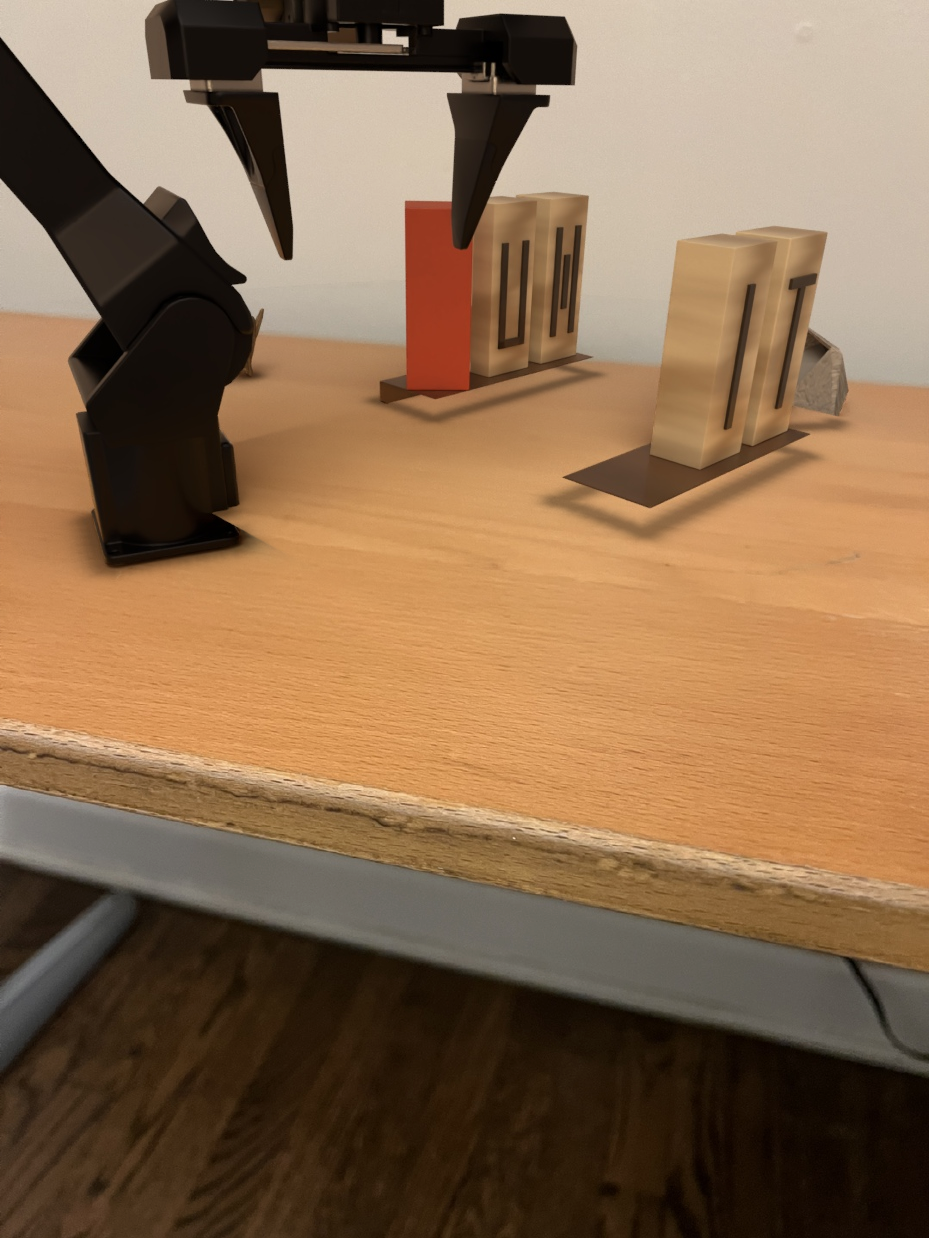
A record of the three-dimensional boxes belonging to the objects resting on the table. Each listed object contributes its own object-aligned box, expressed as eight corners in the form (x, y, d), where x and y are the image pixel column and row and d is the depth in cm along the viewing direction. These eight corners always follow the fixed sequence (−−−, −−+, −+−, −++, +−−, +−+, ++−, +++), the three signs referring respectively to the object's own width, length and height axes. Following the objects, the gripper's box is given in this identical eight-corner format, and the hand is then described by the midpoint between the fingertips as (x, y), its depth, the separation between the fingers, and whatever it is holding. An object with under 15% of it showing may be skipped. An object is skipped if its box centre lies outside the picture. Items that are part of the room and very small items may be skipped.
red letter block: (470, 390, 66) (475, 209, 60) (406, 390, 65) (404, 207, 59) (466, 373, 70) (470, 201, 64) (406, 373, 69) (404, 200, 63)
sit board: (646, 534, 48) (682, 264, 42) (559, 501, 52) (579, 248, 45) (806, 455, 60) (855, 233, 53) (725, 433, 63) (761, 222, 56)
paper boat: (868, 426, 61) (740, 383, 61) (818, 479, 67) (701, 440, 67) (878, 301, 67) (760, 260, 66) (831, 360, 72) (722, 322, 72)
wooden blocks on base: (435, 419, 65) (436, 211, 58) (379, 400, 68) (374, 203, 61) (592, 374, 76) (608, 196, 69) (537, 360, 79) (547, 190, 73)
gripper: (480, -101, 47) (474, 225, 55) (100, -138, 40) (156, 241, 48) (596, -140, 39) (569, 253, 46) (138, -197, 32) (198, 276, 40)
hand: (376, 253), depth 45 cm, fingers open, 9 cm apart
